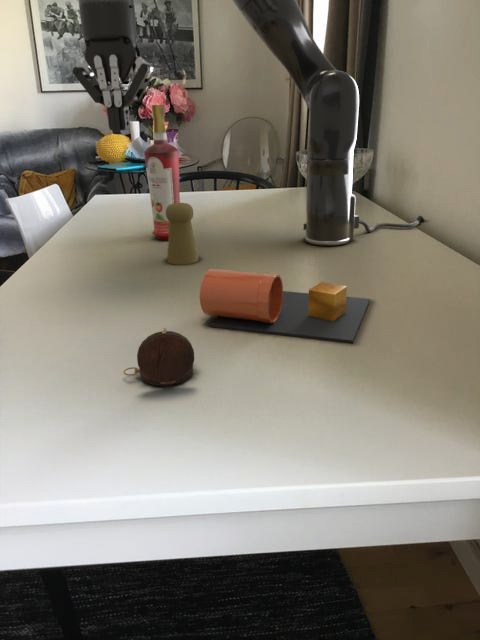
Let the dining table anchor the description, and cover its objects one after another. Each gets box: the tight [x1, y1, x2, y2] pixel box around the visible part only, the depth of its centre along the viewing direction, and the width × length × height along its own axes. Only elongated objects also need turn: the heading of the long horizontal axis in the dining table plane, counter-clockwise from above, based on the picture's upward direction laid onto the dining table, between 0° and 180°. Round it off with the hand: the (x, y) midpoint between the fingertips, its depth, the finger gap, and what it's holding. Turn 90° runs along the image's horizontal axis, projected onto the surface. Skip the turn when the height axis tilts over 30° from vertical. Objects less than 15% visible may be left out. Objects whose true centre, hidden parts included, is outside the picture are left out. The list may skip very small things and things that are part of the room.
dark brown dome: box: [122, 327, 195, 386], centre depth 64 cm, size 8×8×7 cm
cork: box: [166, 202, 199, 266], centre depth 108 cm, size 6×6×11 cm
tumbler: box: [199, 268, 284, 323], centre depth 80 cm, size 7×7×10 cm
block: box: [308, 281, 348, 321], centre depth 80 cm, size 4×4×4 cm
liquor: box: [143, 104, 181, 241], centre depth 122 cm, size 7×7×28 cm
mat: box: [208, 290, 371, 344], centre depth 83 cm, size 20×16×1 cm
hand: (120, 133), depth 85 cm, fingers closed
